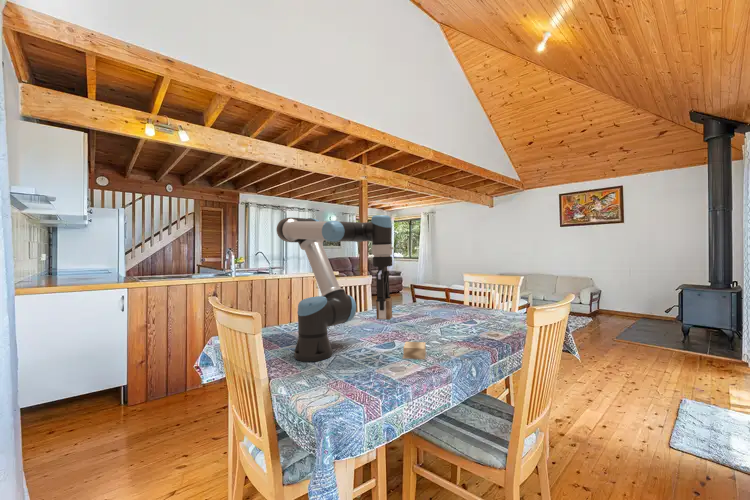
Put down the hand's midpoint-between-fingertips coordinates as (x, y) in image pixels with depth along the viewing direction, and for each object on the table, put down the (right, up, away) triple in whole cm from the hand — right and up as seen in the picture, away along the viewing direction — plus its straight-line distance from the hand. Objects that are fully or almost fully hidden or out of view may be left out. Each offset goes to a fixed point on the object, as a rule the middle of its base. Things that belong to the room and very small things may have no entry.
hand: (384, 316), depth 124 cm
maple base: (+12, -16, +4) cm, 21 cm away
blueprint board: (+12, -17, +4) cm, 21 cm away
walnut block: (0, 0, 0) cm, 0 cm away
